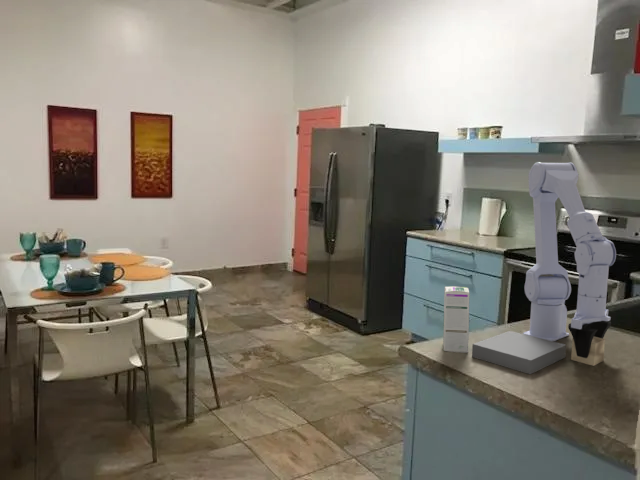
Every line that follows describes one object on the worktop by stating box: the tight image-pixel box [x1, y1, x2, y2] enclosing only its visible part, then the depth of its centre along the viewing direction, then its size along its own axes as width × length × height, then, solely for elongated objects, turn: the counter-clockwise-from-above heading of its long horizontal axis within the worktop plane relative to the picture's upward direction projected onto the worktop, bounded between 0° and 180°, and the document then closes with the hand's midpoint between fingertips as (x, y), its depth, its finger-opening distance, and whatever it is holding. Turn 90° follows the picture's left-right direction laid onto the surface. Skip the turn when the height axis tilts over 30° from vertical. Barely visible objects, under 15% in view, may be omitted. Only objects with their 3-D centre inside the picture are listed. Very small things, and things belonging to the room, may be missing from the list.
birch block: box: [570, 337, 606, 366], centre depth 124 cm, size 5×5×5 cm
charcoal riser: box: [471, 330, 567, 375], centre depth 125 cm, size 16×14×3 cm
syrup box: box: [442, 285, 471, 354], centre depth 130 cm, size 6×6×14 cm
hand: (587, 354), depth 124 cm, fingers closed on birch block, 5 cm apart
